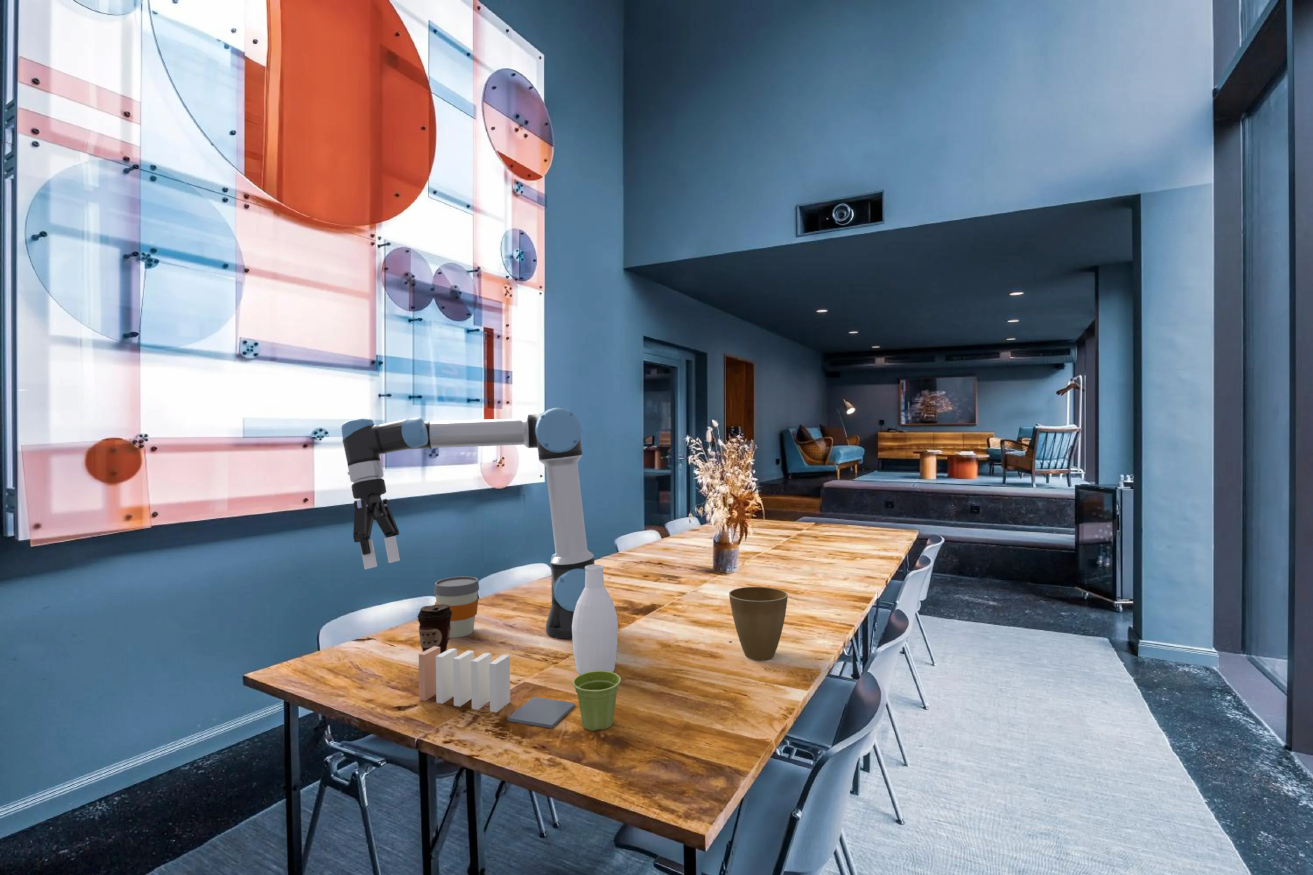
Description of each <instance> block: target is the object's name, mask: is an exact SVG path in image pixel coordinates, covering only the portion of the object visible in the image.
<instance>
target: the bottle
mask: <svg viewBox="0 0 1313 875" xmlns="http://www.w3.org/2000/svg"><path fill="white" fill-rule="evenodd" d="M585 570H586V574H585V588H584V590H583V592H582V594H581V596H580V597H579V599H578V601H577V604H576V608H575V611H574V615H573V622H572V638H571V639H572V650H573V656H574V663H575V670H576V672H577V674H578V676H579V675H581V674H583V673H587V672H591V671H609V672H613V673H614V671H615V668H616V660H617V654H618V645H619V643H618V639H619V638H618V637H619V620H618V616H617V610H616V608H615V604H614V602H613V601H614V600H613V599H612V597H611V595H610V594H609V592H608V590H607V588H606V586H605V580H604V579H605V578H604V565H603V564H595V565H587V566H585Z"/></svg>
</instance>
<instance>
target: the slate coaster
mask: <svg viewBox="0 0 1313 875" xmlns="http://www.w3.org/2000/svg"><path fill="white" fill-rule="evenodd" d="M574 706H576V702H574V701H573V702H571V701H567V700H559V699H551V698H545V697H538V696H532V697H531V698H530V699H529V700H528V701H526V702H525V703H524V704H523V705H522V706H520V707H519V708H518V709H517V710H516V711H514V712H513V713H512V714H510V715H508V717H507V721H508V722H513V723H516V724H517V723H520V724H524V725H530V726H537V727H543V728H549V729H553V728H554V727H555V726H556V725H557V724H558V723H559V722H561V720H562V719H563V718H564V717H566V716H567V715H568V714H569V712H570V711H572V709H573V708H575V707H574Z"/></svg>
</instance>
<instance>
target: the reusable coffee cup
mask: <svg viewBox="0 0 1313 875" xmlns="http://www.w3.org/2000/svg"><path fill="white" fill-rule="evenodd" d="M479 590H480V582H479V579H478V578H477V577H475V576H466V575H465V576H464V575H462V576H453V577H446V578H442V579H439V580H437V581H436V582H434V590H433V594H434V595H435V602H434V603H435V604H434V605H439V604H446V605H449V606H450V610H452V616H451V621H450V626H451V630H450V639H451V638H452V639H453V638H462V637H463V638H464V637H466V636H469V635H471V634H472V633H474V629H475V628H474V627H475V620H476V615H477V614H478V608H479V607H478V606H479V597H478V592H479Z"/></svg>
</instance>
